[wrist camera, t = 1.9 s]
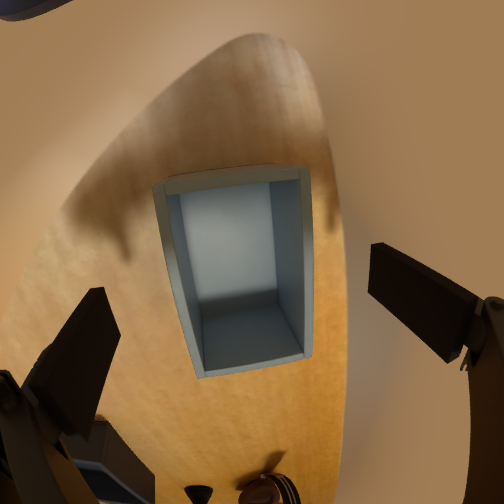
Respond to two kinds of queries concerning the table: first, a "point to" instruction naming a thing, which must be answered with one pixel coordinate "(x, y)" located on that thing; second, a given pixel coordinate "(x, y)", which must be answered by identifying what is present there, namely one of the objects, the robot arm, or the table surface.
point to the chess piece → (199, 494)
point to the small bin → (240, 264)
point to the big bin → (111, 467)
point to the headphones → (270, 491)
